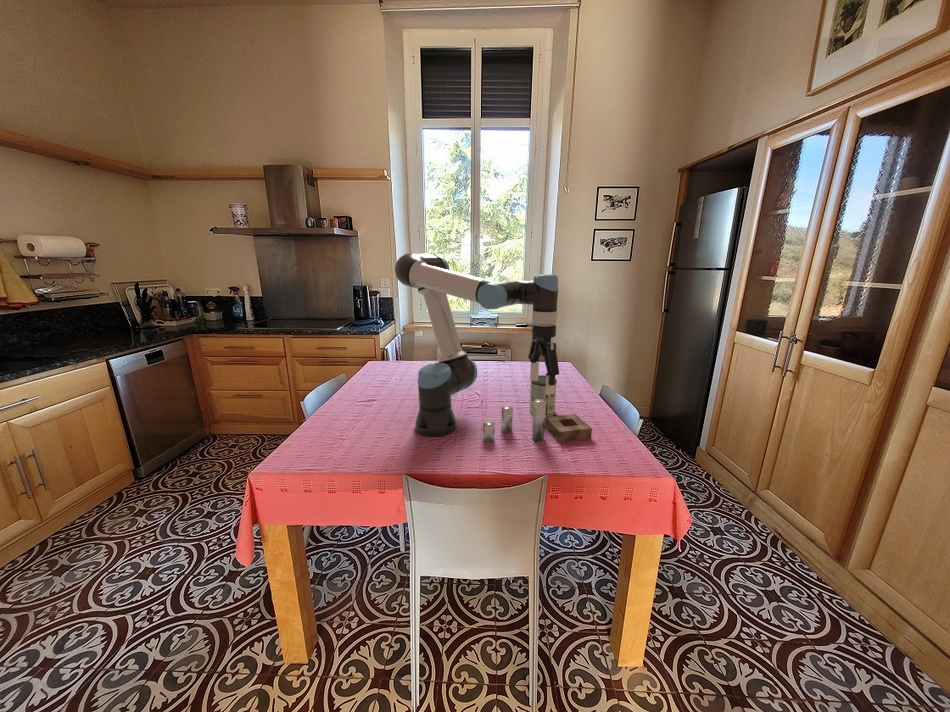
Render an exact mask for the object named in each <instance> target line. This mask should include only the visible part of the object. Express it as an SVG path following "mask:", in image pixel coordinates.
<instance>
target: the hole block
mask: <svg viewBox="0 0 950 712" xmlns="http://www.w3.org/2000/svg"><path fill="white" fill-rule="evenodd" d="M545 428H546V429H547V430H548V432H549V433H550V434H551V435H552V437H553V438H554V439H555V440H556V441H557V442H558V443H565V442H567V443H568V442H575V441H585V440H592V434H593V433H592V432H593V428H592V427H591V426H590V425H589V424H588V423H586V421H584V420H583V419H582V418H581V417H579V416H578V414H576V413H574V414H573V413H572V414H561V415H554V416H553V415H552V416H549V417H545Z"/></svg>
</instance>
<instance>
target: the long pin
mask: <svg viewBox="0 0 950 712" xmlns="http://www.w3.org/2000/svg"><path fill="white" fill-rule="evenodd" d="M545 411H546V401H545V400H542V399H536V400H534V412H533V414H532V415H533V416H532V433H531V435H532V436H531V439H532V440H533V441H535V442H543V441H545V428H546V427H545V422H546V417H545Z"/></svg>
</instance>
